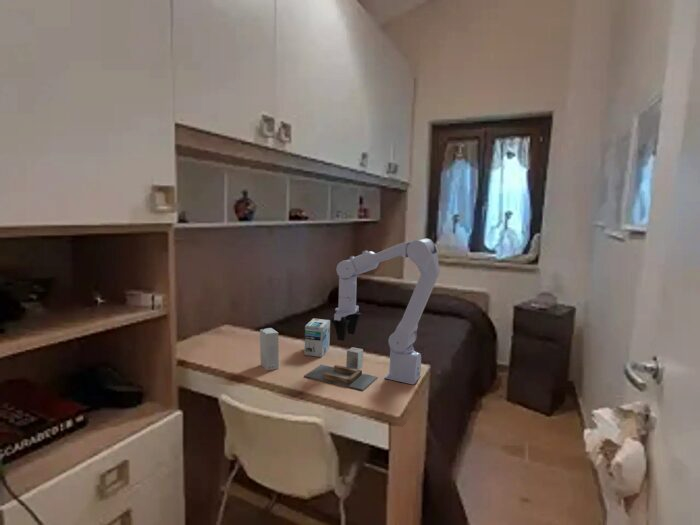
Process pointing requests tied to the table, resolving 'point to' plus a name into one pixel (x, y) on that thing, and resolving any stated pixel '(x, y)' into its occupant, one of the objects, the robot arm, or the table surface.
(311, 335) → the light bulb box
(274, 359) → the skincare box
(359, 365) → the aluminium block
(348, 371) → the dock
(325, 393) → the table surface
